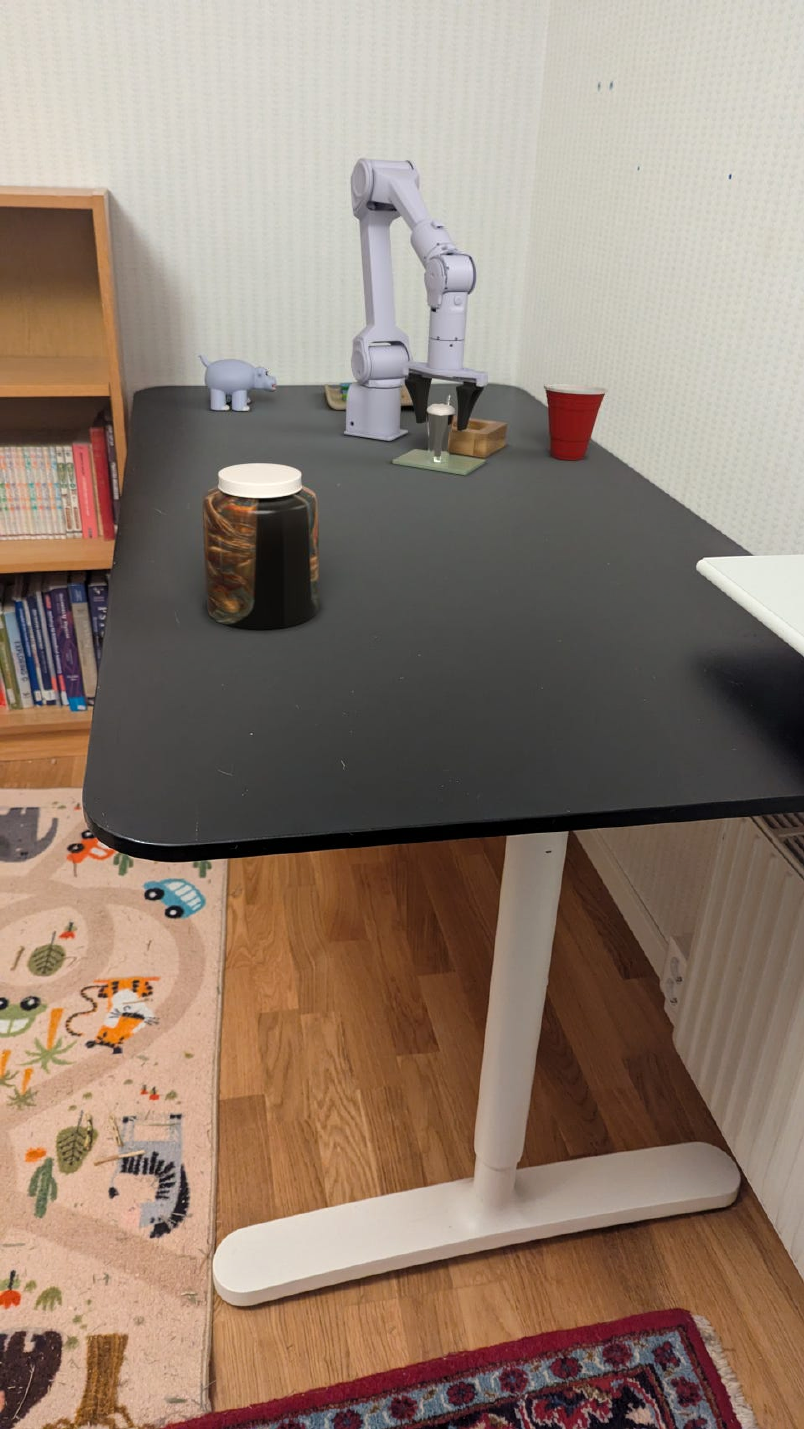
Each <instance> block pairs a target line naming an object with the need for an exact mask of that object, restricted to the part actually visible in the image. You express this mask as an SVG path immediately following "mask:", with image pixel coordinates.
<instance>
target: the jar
mask: <svg viewBox="0 0 804 1429" xmlns="http://www.w3.org/2000/svg"><path fill="white" fill-rule="evenodd" d="M302 478H303V477H302V472H301V471H300V470H299V469H297V468H295V467H292V466H289V465H285V464H278V463H266V462H265V463H262V462H255V463H254V462H253V463H241V464H233V465H231V466H226V467H224V468H222V469H220V470H219V471H218V473H217V485H216V486H214V487H211V488H210V489H208V490H207V491H206V492H205V494H204V496H203V501H202V524H203V525H202V527H203V529H202V530H203V531H202V532H203V553H204V573H205V590H206V605H207V607H206V608H207V614H208V615H209V616H210V617H211V618H212V619H213V620H214V621H216V622H218V623H220V624H222V625H226V626H229V627H234V628H238V629H244V630H245V629H246V630H275V629H276V630H277V629H283V628H289V627H294V626H296V625H297V626H298V625H300V624H302V623H306V622H307V621H309V620H311V619H312V618H314V617H315V616H316V615H317V613H318V611H319V588H320V587H319V580H320V578H319V576H320V575H319V574H320V572H319V570H320V568H319V565H320V564H319V563H320V560H319V559H320V558H319V557H320V556H319V554H320V552H319V551H320V550H319V549H320V548H319V546H320V545H319V544H320V543H319V542H320V541H319V539H320V538H319V535H320V534H319V533H320V532H319V505H318V498H317V495H316V493H315V492H314V491H313V490H312V489H310V488H309V487H307V486H304V485H303V483H302V480H303V479H302Z"/></svg>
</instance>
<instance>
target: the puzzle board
mask: <svg viewBox="0 0 804 1429" xmlns="http://www.w3.org/2000/svg"><path fill="white" fill-rule="evenodd" d="M353 382H354V381H352V382H340V385H339V386H340V388H332V387H330V386H329V385H328V384H327V383H325V384H324V386H323V387H324V388H323V389H324V392H325V398H326V402H327V404H328V406H329V407H331V408H332V409H333V410H335V411H346V398H347V392H348V389H349V387H350V385H351V384H352V383H353ZM407 406H408V407H409V406H412V407H413V403H412V400H411V397H410V394H409V392H408V390H407V388H406V386H405V385H402V389H401V407H407Z"/></svg>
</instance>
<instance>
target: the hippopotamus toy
mask: <svg viewBox="0 0 804 1429" xmlns="http://www.w3.org/2000/svg"><path fill="white" fill-rule="evenodd" d="M198 358H200V361H201V363H202V365H203V366H204V367H205V368H206V369H205V372H204V377H203V378H204V384H205V387H206V389H208V390H209V391H210V409H211V410H213V411H226V412H227V411H229V410H230V406H229V405H228V403H231V409H232V410H233V411H235V412H248V411H250V406H249V405H248V404H249V403H251V401H252V400H251V399H250V398H249V394H250V392H252V391H253V390H254V389H256V390H257V389H258V390H264V391H266V392H269V393H274V392H276V390H277V387H276V385H278V381H277V379H276V375H269V370H268V369H267V368H266V367H265V366H264V367H263V366H261V365H258V367H254V365H253V364H252V363H249V362H246V361H245V360H241V359H238V358H237V359H236V358H223V359H219V360H215V361H212V362H211V361H208V360H207V359H206V358H205V357H204V356H203V355H201V354H198ZM248 393H249V394H248Z"/></svg>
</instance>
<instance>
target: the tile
mask: <svg viewBox="0 0 804 1429" xmlns="http://www.w3.org/2000/svg"><path fill="white" fill-rule="evenodd" d="M392 464H394V465H398V466H405V467H412V468H418V469H424V470H431V471H437V472H443V473H448V474H456V475H462V476H467V475H468V474H470V473H472V472H473V471H475V470H477V469H478V468H480V467H482V466H484V465H485V464H486V459H484V458H483V459H482V458H478V457H470V456H465V455H458V454H451V453H449V457H448V461H446V462H441V463H439V462H432V461H429V459H428V450H425V449H420V448H419V449H417V448H413V449H412V450H410V451H407V452H405V453H404V454H402V455H400V456H397V457H396V458H394V459H392Z"/></svg>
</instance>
